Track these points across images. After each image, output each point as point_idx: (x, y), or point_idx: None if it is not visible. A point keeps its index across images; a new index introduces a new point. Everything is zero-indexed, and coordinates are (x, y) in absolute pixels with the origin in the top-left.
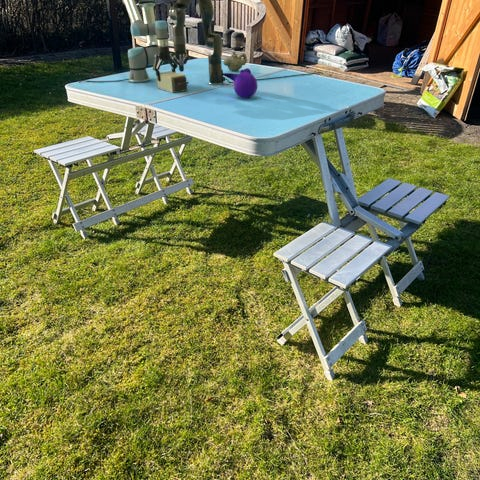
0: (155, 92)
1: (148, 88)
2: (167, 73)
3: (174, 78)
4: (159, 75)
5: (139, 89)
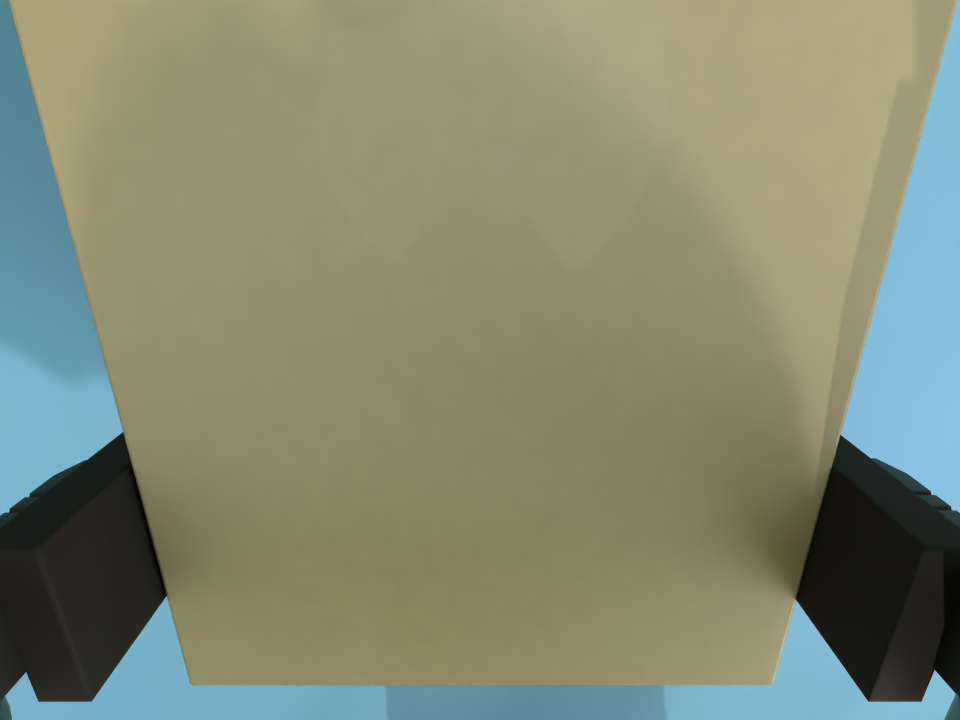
0: (952, 87)
1: None
2: (522, 349)
3: None
4: None
5: None
